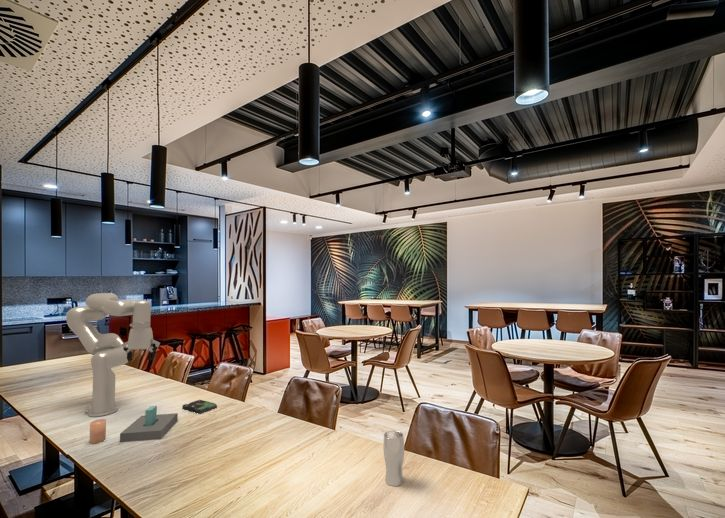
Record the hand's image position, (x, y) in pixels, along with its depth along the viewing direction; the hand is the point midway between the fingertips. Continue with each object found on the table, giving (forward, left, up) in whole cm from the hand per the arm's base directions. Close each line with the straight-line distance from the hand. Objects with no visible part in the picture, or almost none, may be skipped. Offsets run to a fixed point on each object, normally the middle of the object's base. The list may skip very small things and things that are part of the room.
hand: (140, 360), depth 176 cm
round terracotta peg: (-6, -24, -28) cm, 37 cm away
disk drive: (+26, +8, -29) cm, 40 cm away
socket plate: (+12, -17, -28) cm, 35 cm away
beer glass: (+110, -76, -28) cm, 137 cm away
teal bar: (+12, -17, -28) cm, 35 cm away
